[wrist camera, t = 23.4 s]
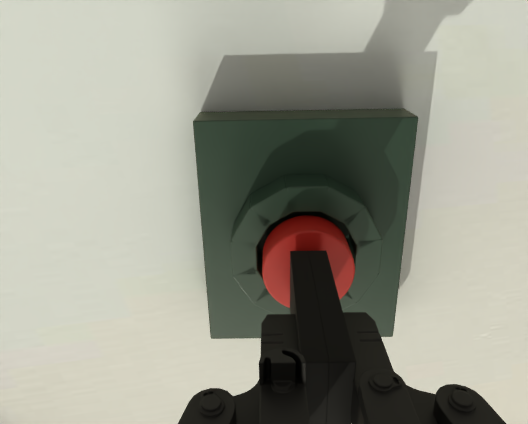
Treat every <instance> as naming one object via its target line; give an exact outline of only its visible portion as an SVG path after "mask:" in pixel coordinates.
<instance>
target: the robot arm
mask: <svg viewBox="0 0 528 424" xmlns="http://www.w3.org/2000/svg"><path fill="white" fill-rule="evenodd" d="M290 313H291V314H267V316H266V317H265V319H264V320H263V322H262V323H261V358H260V361H259V381H258V383H257V384H256V385H255V386H254V387H253V388H252V389H251V390H249V391H247V392H245V393H242V394H240V395H236V396H232V395H231V394H230V393H229V392H228V391H225V390H222V389H219V388H210V389H206V390H203V391H201V392H199V393H197V394H196V395H194V396H193V398H192V399H191V400H190V402H189V403H188V405H187V407H186V409H185V411H184V413H183V415H182V417H181V419H180V421H179V423H178V424H351V423H352V424H506V423H505V422H504V421H503V420H502V419H501V417H500V416H499V415H498V414H497V413H496V412H495V411H494V410H493V409H492V407H491V406H490V405H489V404H488V403H487V402H486V401H485V400H484V399H483V397H481V396H480V395H479V394H478V393H477V392H475V391H474V390H472V389H470V388H468V387H465V386H461V385H457V384H450V385H445V386H443V387H440V388H439V390H438V391H437V392H436V394H431V393H427V392H423V391H419V390H416V389H413V388H411V387H409V386H407V385H406V384H405V382H404V381H403V379H402V378H401V377H400V376H399V375H398V374H396V373H395V372H394V371H393V368H392V366H391V363H390V360H389V357H388V355H387V352H386V349H385V347H384V344H383V341H382V339H381V336H380V333H379V330H378V328H377V325H376V322H375V320H373V319H372V318H371V317H370V316H369V315H368V314H367V313H366V312H343V310H342V307H341V303H340V299H339V296H338V292H337V288H336V284H335V281H334V277H333V273H332V270H331V266H330V262H329V258H328V255H327V251H326V250H320V251H290Z"/></svg>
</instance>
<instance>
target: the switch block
mask: <svg viewBox="0 0 528 424" xmlns="http://www.w3.org/2000/svg"><path fill="white" fill-rule="evenodd" d="M417 123H418V117H417V116H415V115H414V114H412V113H410V112H409V111H407V110H405V109H404V108H402V109H348V110H293V111H239V112H200V113H199V115H198V116H197V117H196V118H195V120H194V121H193V127H194V139H195V152H196V164H197V176H198V188H199V200H200V212H201V225H202V237H203V249H204V261H205V273H206V286H207V298H208V310H209V322H210V334H211V338H212V339H221V338H261V323H262V322H263V320H264V319H265V317H266V316H267V314H291V313H290V308H289V307H286V306H284V305H282V304H281V303H279V302H278V301H277V300H275V299H274V298H273V297H272V296H271V294H270V293H269V292H268V290H267V288H266V286H265V284H264V281H263V275H262V261H263V247H264V244H265V241H266V239H267V237H268V235H269V234H270V232H271V231H272V230H273V229H274V228H275V227H276V226H277V225H279V224H280V223H282V222H283V221H285V220H287V219H289V218H293V217H296V216H302V215H312V216H318V217H322V218H324V219H327V220H329V221H331V222H332V223H334V224H335V225H336V226H337V227H338V228H339V229H340V230H341V231H342V232H343V234H344V236H345V238H346V240H347V242H348V245H349V248H350V250H351V253H352V256H353V259H354V263H355V275H354V279H353V282H352V284H351V286H350V288H349V290H348V291H347V293H346V294H345V295H344V296H343V297H342V298H341V299H340V303H341V307H342V310H343V312H366V313H367V314H368V315H369V316H370V317H371V318H372V319H373V320H375V322H376V325H377V328H378V330H379V333H380V336H381V337H392V336H393V330H394V321H395V312H396V304H397V295H398V287H399V278H400V269H401V261H402V252H403V243H404V235H405V226H406V218H407V209H408V200H409V192H410V183H411V175H412V166H413V157H414V149H415V140H416V132H417Z"/></svg>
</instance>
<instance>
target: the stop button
mask: <svg viewBox="0 0 528 424" xmlns="http://www.w3.org/2000/svg"><path fill="white" fill-rule="evenodd" d="M320 250H326V251H327V255H328V258H329V262H330V266H331V270H332V273H333V277H334V281H335V284H336V288H337V292H338V296H339V299H341V298H342V297H343V296H344V295H345V294H346V293H347V291H348V290H349V288H350V286H351V284H352V282H353V279H354V275H355V263H354V259H353V256H352V253H351V250H350V248H349V245H348V242H347V240H346V238H345V236H344V234H343V232H342V231H341V230H340V229H339V228H338V227H337V226H336V225H335V224H334V223H332V222H331V221H329V220H327V219H324V218H322V217H318V216H312V215H302V216H296V217H293V218H289V219H287V220H285V221H283V222H282V223H280V224H279V225H277V226H276V227H275V228H274V229H273V230H272V231H271V232H270V234H269V235H268V237H267V239H266V241H265V244H264V247H263V261H262V275H263V281H264V284H265V286H266V288H267V290H268V292H269V293H270V294H271V296H272V297H273V298H274V299H275V300H277V301H278V302H279V303H281V304H282V305H284V306H286V307H289V308H290V251H320Z"/></svg>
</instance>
